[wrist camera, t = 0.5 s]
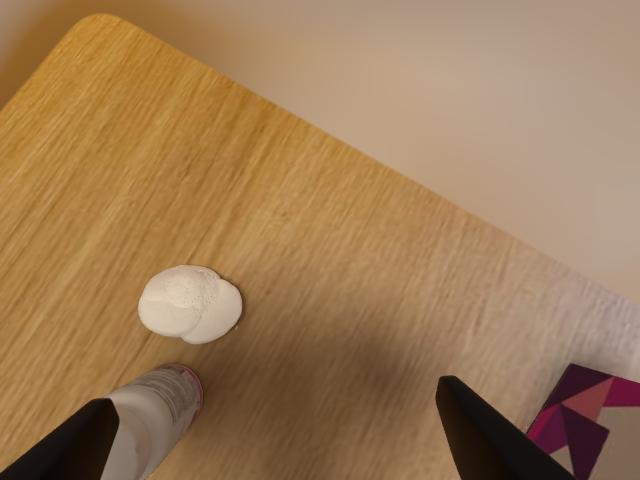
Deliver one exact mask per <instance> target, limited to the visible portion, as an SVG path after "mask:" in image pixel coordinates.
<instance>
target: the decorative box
mask: <svg viewBox="0 0 640 480" xmlns="http://www.w3.org/2000/svg"><path fill="white" fill-rule="evenodd" d="M526 436H527V437H529V438H530V439H531V440H532V441H533V442H535V443H536V444H537V445H538V446H539V447H540V448H542V449H543V450H544V451H545V452H546V453H548V454H549V455H550V456H551V457H552V458H553V459H555V460H556V461H557V462H558V463H559V464H561V465H562V466H563V467H564V468H565V469H567V470H568V471H569V472H570V473H571V474H572V475H574V476H575V477H576V478H577V479H578V480H640V383H637V382H633V381H630V380H626V379H623V378H620V377H616V376H613V375H609V374H606V373H603V372H599V371H596V370H592V369H589V368H585V367H582V366H579V365H575V364H572V363H571V364H570V366H569V367H568V369H567V371H566V372H565V374H564V376H563V377H562V379H561V380H560V382H559V384H558V385H557V387H556V388H555V390H554V392H553V393H552V395H551V397H550V398H549V400H548V401H547V403H546V405H545V406H544V408H543V410H542V411H541V413H540V414H539V416H538V418H537V419H536V421H535V422H534V424H533V426H532V427H531V429H530V431H529V432H528V434H527V435H526Z"/></svg>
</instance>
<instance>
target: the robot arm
mask: <svg viewBox="0 0 640 480" xmlns="http://www.w3.org/2000/svg"><path fill="white" fill-rule="evenodd" d="M435 399H436V405H437V408H438V411H439V415H440V418H441V421H442V424H443V427H444V431H445V434H446V437H447V440H448V443H449V447H450V450H451V453H452V456H453V459H454V462H455V465H456V467H457V470H458V473H459V475H460V477H461V480H578V479H577V478H576V477H575V476H574V475H572V474H571V473H570V472H569V471H568V470H567V469H565V468H564V467H563V466H562V465H561V464H559V463H558V462H557V461H556V460H555V459H553V458H552V457H551V456H550V455H549V454H548V453H546V452H545V451H544V450H543V449H542V448H540V447H539V446H538V445H537V444H536V443H535V442H533V441H532V440H531V439H530V438H529V437H527V436H526V435H525V434H524V433H523V432H522V431H520V430H519V429H518V428H517V427H516V426H514V425H513V424H512V423H511V422H510V421H508V420H507V419H506V418H505V417H504V416H503V415H501V414H500V413H499V412H498V411H497V410H495V409H494V408H493V407H492V406H491V405H490V404H488V403H487V402H486V401H485V400H484V399H482V398H481V397H480V396H479V395H478V394H476V393H475V392H474V391H473V390H472V389H471V388H469V387H468V386H467V385H466V384H465V383H463V382H462V381H461V380H460V379H459V378H457V377H456V376H453V375H450V376H441V377H440V378H439V382H438V386H437V391H436V397H435ZM119 424H120V418H119V415H118V413H117V410H116V408H115V406H114V403H113V401H112V399H110V398H97V399H93V400H91V401H90V402H88V403H87V404H86V405H85V406H83V407H82V408H81V409H80V410H78V411H77V412H76V413H75V414H73V415H72V416H71V417H70V418H68V419H67V420H66V421H65V422H63V423H62V424H61V425H60V426H58V427H57V428H56V429H55V430H53V431H52V432H51V433H50V434H48V435H47V436H46V437H45V438H43V439H42V440H41V441H40V442H38V443H37V444H36V445H35V446H33V447H32V448H31V449H30V450H28V451H27V452H26V453H25V454H23V455H22V456H21V457H20V458H19V459H17V460H16V461H15V462H14V463H12V464H11V465H10V466H9V467H7V468H6V469H5V470H4V471H2V472H1V473H0V480H101V477H102V474H103V471H104V468H105V465H106V463H107V460H108V457H109V454H110V451H111V448H112V445H113V442H114V440H115V437H116V434H117V431H118V428H119Z"/></svg>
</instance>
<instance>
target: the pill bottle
mask: <svg viewBox="0 0 640 480" xmlns="http://www.w3.org/2000/svg"><path fill="white" fill-rule="evenodd" d="M103 398H110V399H112V401H113V403H114V406H115V408H116V410H117V413H118V415H119V418H120V424H119V428H118V431H117V434H116V437H115V440H114V442H113V445H112V448H111V451H110V454H109V457H108V460H107V463H106V465H105V468H104V471H103V474H102V477H101V480H144V479H146V478H147V477H148V476H149V475H150V474H152V473H153V472H154V470H155V469H156V468H157V467H158V466H159V465H160V464H161V462H162V461H163V460H164V459H165V457H166V456H167V455H168V454H169V452H170V451H171V450H172V449H173V447H174V446H175V445H176V443H177V442H178V441H179V440H180V438H181V437H182V436H183V434H184V433H185V432H186V431H187V429H188V428H189V427H190V425H191V424H192V423H193V422H194V420H195V419H196V417H197V415H198V414H199V411H200V409H201V406H202V401H203V391H202V386H201V384H200V381H199V379H198V377H197V376H196V375H195V373H194V372H193V371H192V370H190V369H189V368H187V367H185V366H183V365H179V364H164V365H161V366H158V367H156V368H154V369H152V370H150V371H149V372H147V373H145V374H143V375H142V376H140V377H138V378H136V379H135V380H133V381H131V382H129V383H127V384H126V385H124V386H122V387H120V388H119V389H117V390H115V391H113V392H111V393H110V394H108V395H106V396H105V397H103Z"/></svg>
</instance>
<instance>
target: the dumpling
mask: <svg viewBox="0 0 640 480" xmlns="http://www.w3.org/2000/svg"><path fill="white" fill-rule="evenodd" d="M231 280H232V279H231ZM138 312H139V316H140V319H141V321H142V323H143V324H144V325H145V326H146V327H147V328H148V329H150V330H151V331H153V332H155V333H158V334H160V335H163V336H167V337H181V338H182V339H183V340H184V341H186V342H188V343H191V344H204V343H208V342H211V341H213V340H216V339H218V338H219V337H221V336H223V335H224V334H226V333H227V332H228V331H229V330H230V329H231V328H232V327H233V326H234V325H235V324H236V322H237V321H238V319H239V317H240V315H241V312H242V299H241V295H240V293H239V291H238V289H237V288H236V287H235V286H233V285H232V284H230V283H229V282H228V281H226V280H222V279H220V276H219V275H217V273H215V271H213V270H211V269H210V268H206V267H203V266H197V265H183V266H182V265H180V266H177V267H173V268H170V269H167V270H164V271H162V272H160V273H159V274H157V275H155V276H154V277H152V278H151V280H150V281H149V282H148V283H147V285H146V287H145V289H144V292H143V294H142V296H141V298H140V300H139V307H138ZM237 328H238V326H237V327H236V330H235V331H237Z"/></svg>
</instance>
